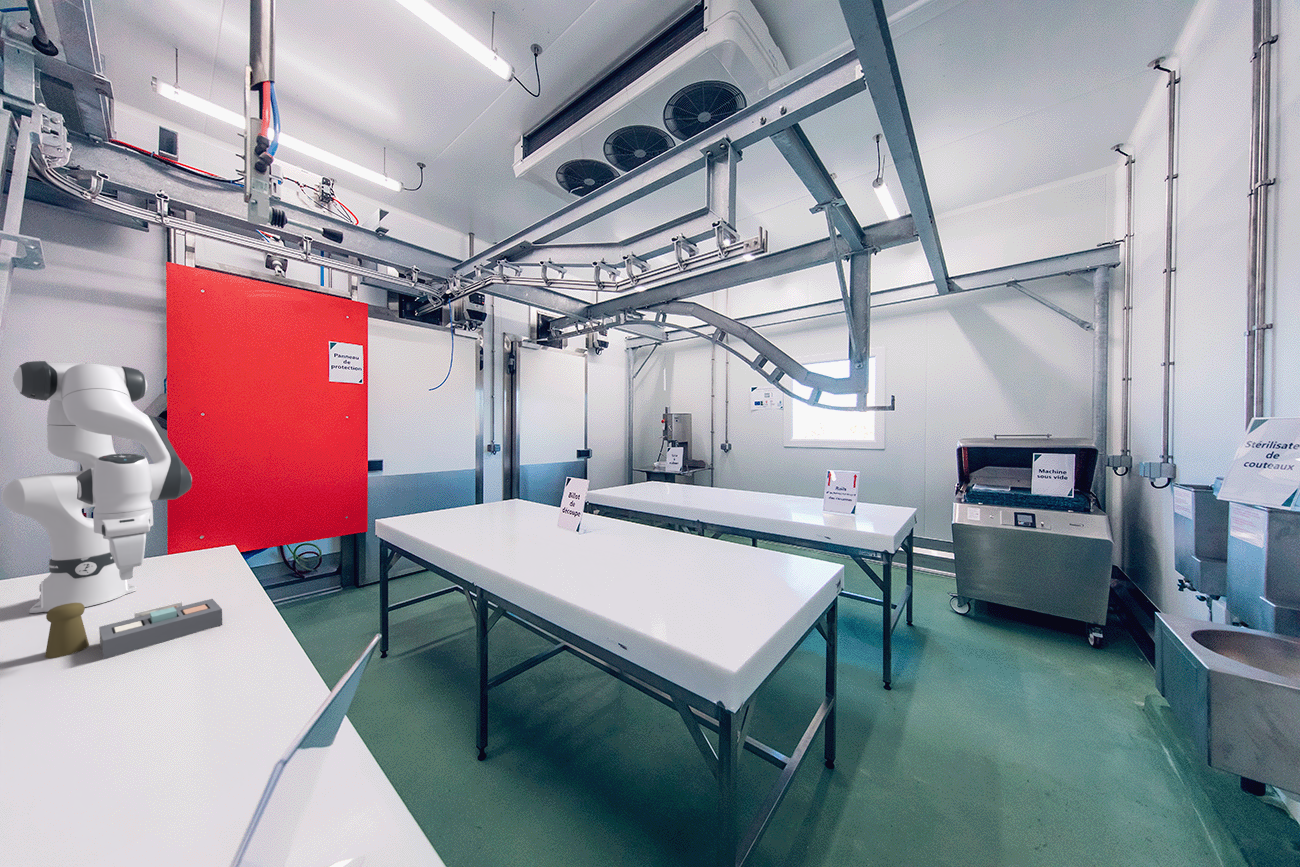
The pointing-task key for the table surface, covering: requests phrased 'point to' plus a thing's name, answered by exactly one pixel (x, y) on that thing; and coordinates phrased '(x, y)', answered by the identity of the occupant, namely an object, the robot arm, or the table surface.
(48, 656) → the cork
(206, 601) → the keypad
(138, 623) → the cream key
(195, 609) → the terracotta key
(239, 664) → the table surface
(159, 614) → the teal key
